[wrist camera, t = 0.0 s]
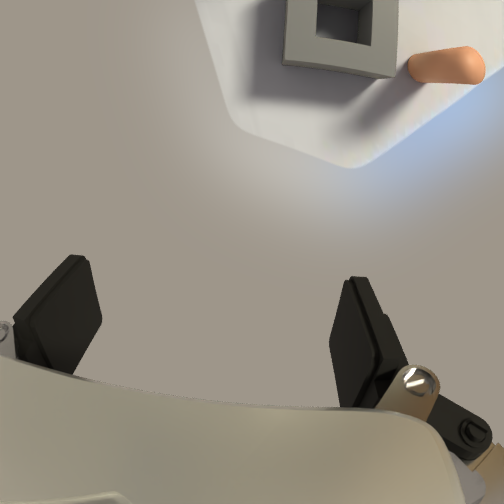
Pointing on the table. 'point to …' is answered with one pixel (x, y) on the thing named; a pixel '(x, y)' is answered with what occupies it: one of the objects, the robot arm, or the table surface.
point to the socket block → (342, 52)
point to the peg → (448, 66)
